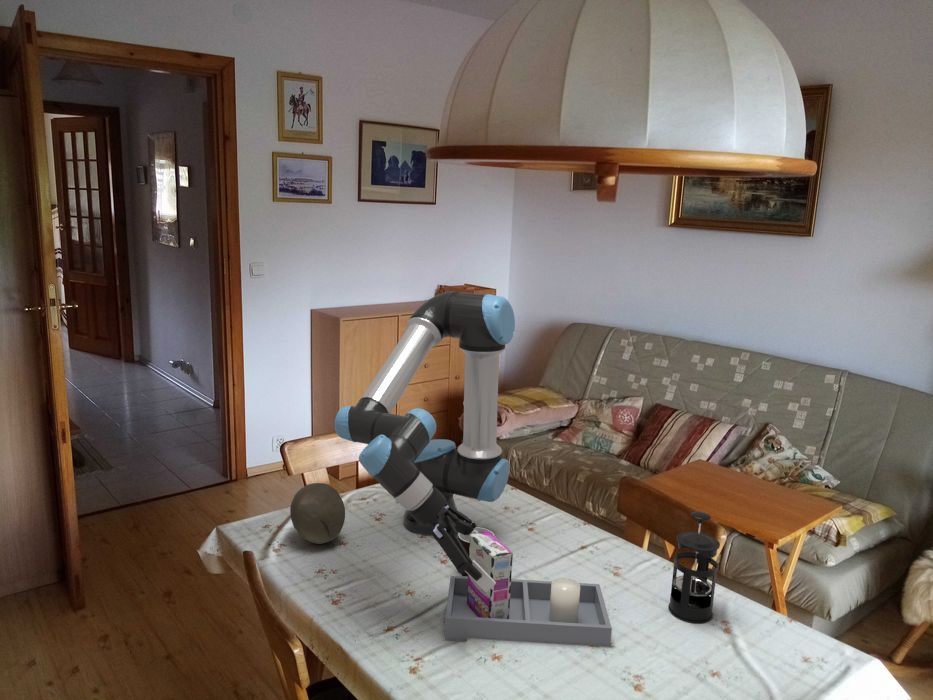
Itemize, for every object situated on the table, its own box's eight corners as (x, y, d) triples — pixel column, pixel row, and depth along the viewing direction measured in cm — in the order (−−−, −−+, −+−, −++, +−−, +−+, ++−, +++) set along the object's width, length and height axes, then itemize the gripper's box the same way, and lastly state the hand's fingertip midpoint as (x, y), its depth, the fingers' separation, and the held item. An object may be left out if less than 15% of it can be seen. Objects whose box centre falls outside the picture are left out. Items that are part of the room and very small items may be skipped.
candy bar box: (510, 625, 147) (514, 552, 143) (488, 631, 144) (492, 556, 141) (486, 598, 157) (489, 529, 153) (465, 603, 154) (468, 533, 151)
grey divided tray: (449, 595, 159) (450, 575, 158) (597, 603, 158) (599, 584, 157) (444, 639, 142) (445, 618, 141) (609, 650, 141) (611, 628, 140)
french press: (702, 630, 149) (714, 528, 145) (660, 613, 155) (670, 515, 151) (721, 607, 158) (733, 511, 154) (680, 592, 164) (691, 499, 160)
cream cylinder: (548, 611, 153) (550, 577, 151) (575, 612, 152) (578, 578, 151) (550, 627, 147) (552, 591, 145) (579, 628, 147) (581, 593, 145)
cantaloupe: (352, 532, 188) (353, 478, 185) (333, 557, 174) (334, 499, 171) (302, 526, 190) (302, 473, 187) (279, 550, 176) (279, 493, 174)
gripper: (414, 487, 158) (478, 552, 161) (400, 538, 134) (476, 614, 136) (438, 465, 157) (502, 532, 160) (429, 513, 133) (505, 590, 135)
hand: (490, 570), depth 148 cm, fingers open, 13 cm apart
